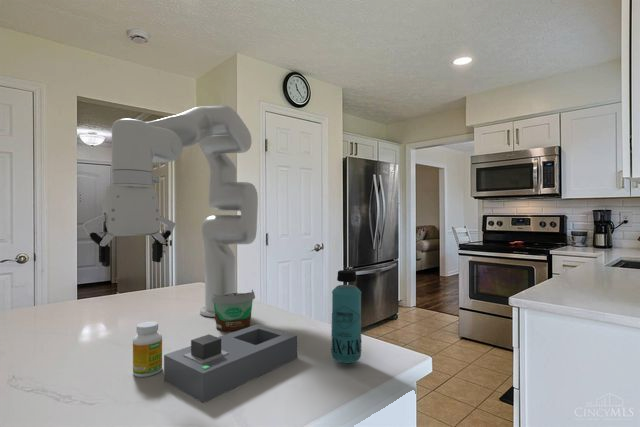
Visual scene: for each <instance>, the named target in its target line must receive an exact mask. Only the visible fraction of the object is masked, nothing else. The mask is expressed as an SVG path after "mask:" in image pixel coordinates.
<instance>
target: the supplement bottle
mask: <svg viewBox="0 0 640 427" xmlns="http://www.w3.org/2000/svg"><path fill="white" fill-rule="evenodd" d="M136 333H137V334H136V335H134V337H133V338H132V375H134V377H138V378H145V377H150V376H154V375H157V374H159V373H160V372H161V371H162V369H163V336H162V333H161V332H159V323H158V321H143V322H140V323H138V324H137V325H136Z"/></svg>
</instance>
